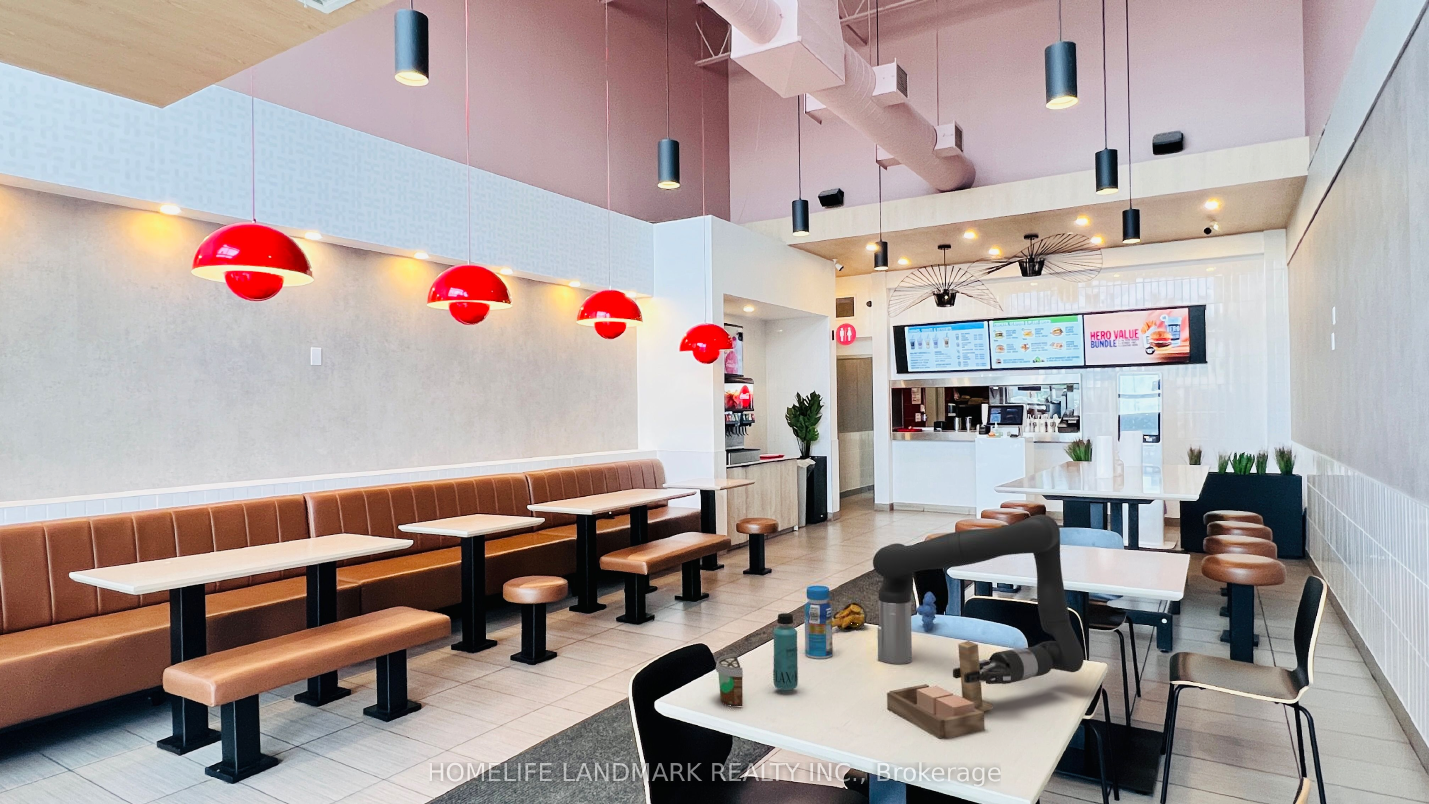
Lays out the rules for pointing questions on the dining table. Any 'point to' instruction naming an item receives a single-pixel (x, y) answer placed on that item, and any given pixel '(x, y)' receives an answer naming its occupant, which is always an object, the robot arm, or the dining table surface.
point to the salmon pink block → (953, 706)
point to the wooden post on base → (971, 664)
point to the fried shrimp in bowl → (850, 617)
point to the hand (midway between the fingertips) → (959, 675)
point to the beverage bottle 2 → (818, 623)
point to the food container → (730, 680)
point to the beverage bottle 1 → (785, 654)
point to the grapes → (927, 611)
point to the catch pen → (932, 715)
